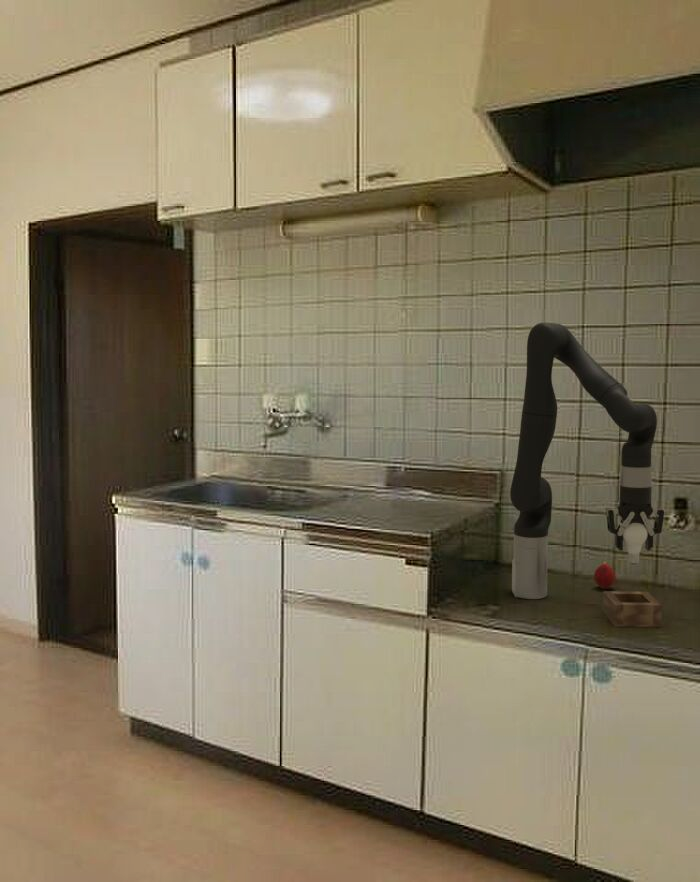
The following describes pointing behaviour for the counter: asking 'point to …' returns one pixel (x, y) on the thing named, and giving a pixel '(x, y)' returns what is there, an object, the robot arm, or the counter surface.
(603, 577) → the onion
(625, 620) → the socket block
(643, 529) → the lightbulb
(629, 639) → the counter surface
